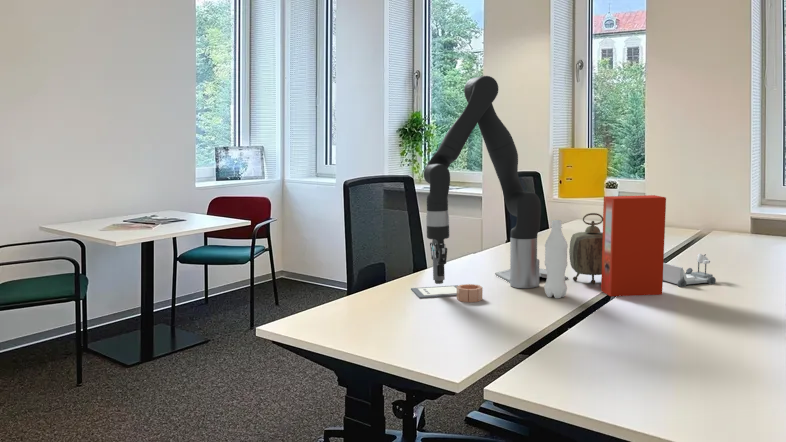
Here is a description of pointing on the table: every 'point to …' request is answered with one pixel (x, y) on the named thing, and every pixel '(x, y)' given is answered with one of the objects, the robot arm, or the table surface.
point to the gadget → (506, 274)
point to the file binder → (633, 245)
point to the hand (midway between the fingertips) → (439, 274)
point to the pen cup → (469, 293)
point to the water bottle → (556, 261)
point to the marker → (435, 277)
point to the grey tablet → (435, 291)
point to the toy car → (687, 274)
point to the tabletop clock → (587, 250)
